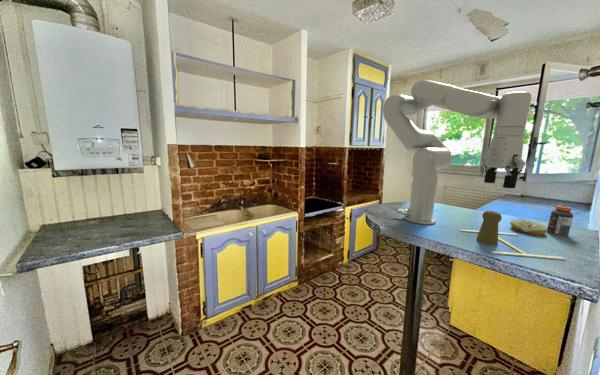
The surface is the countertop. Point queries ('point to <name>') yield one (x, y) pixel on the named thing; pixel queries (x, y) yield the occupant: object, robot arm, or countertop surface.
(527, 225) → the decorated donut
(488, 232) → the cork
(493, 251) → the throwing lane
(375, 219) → the countertop surface
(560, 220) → the pill bottle
